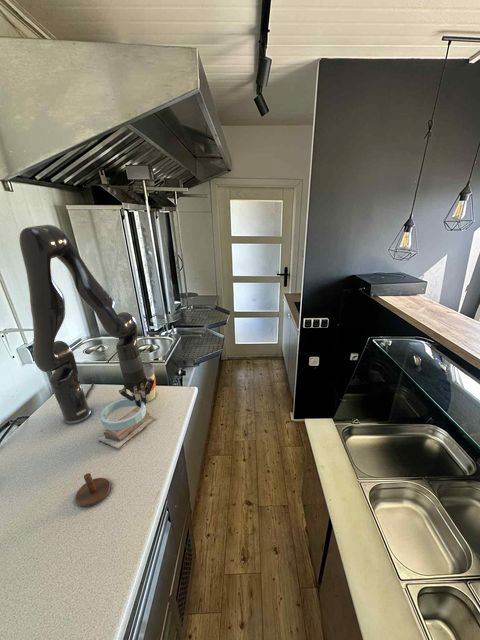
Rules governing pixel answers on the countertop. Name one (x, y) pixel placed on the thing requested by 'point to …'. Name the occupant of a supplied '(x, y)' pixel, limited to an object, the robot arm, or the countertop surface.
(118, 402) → the ring
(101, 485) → the ring stand
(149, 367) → the reusable coffee cup
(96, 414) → the countertop surface
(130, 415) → the packaged product
